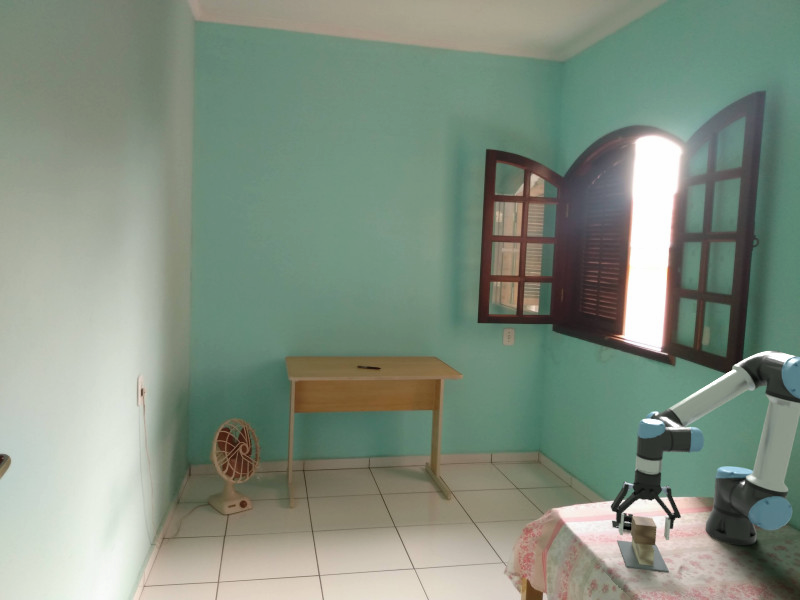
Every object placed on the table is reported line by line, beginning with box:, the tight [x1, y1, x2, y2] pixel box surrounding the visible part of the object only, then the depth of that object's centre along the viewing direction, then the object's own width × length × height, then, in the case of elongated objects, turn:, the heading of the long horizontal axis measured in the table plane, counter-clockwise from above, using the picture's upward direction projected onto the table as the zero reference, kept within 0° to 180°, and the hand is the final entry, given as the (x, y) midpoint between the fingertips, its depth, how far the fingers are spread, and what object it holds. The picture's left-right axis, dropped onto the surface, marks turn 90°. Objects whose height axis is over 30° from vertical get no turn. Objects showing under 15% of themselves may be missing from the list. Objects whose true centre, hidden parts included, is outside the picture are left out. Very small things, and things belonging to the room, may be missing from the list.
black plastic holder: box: [611, 512, 634, 531], centre depth 211 cm, size 12×7×5 cm, turn 72°
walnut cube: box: [630, 515, 658, 545], centre depth 190 cm, size 6×6×6 cm
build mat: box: [617, 539, 670, 573], centre depth 191 cm, size 12×16×1 cm
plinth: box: [631, 537, 654, 566], centre depth 191 cm, size 4×12×5 cm, turn 170°
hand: (643, 535), depth 190 cm, fingers open, 13 cm apart
